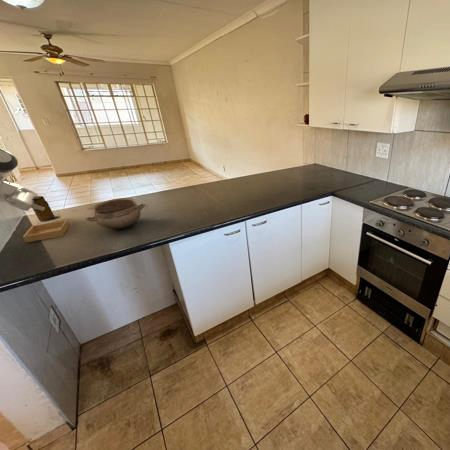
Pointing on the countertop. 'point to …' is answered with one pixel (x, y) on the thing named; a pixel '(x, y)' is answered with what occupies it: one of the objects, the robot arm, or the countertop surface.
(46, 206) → the condiment
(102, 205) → the cooking pot
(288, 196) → the countertop surface
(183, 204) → the countertop surface
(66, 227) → the tray
